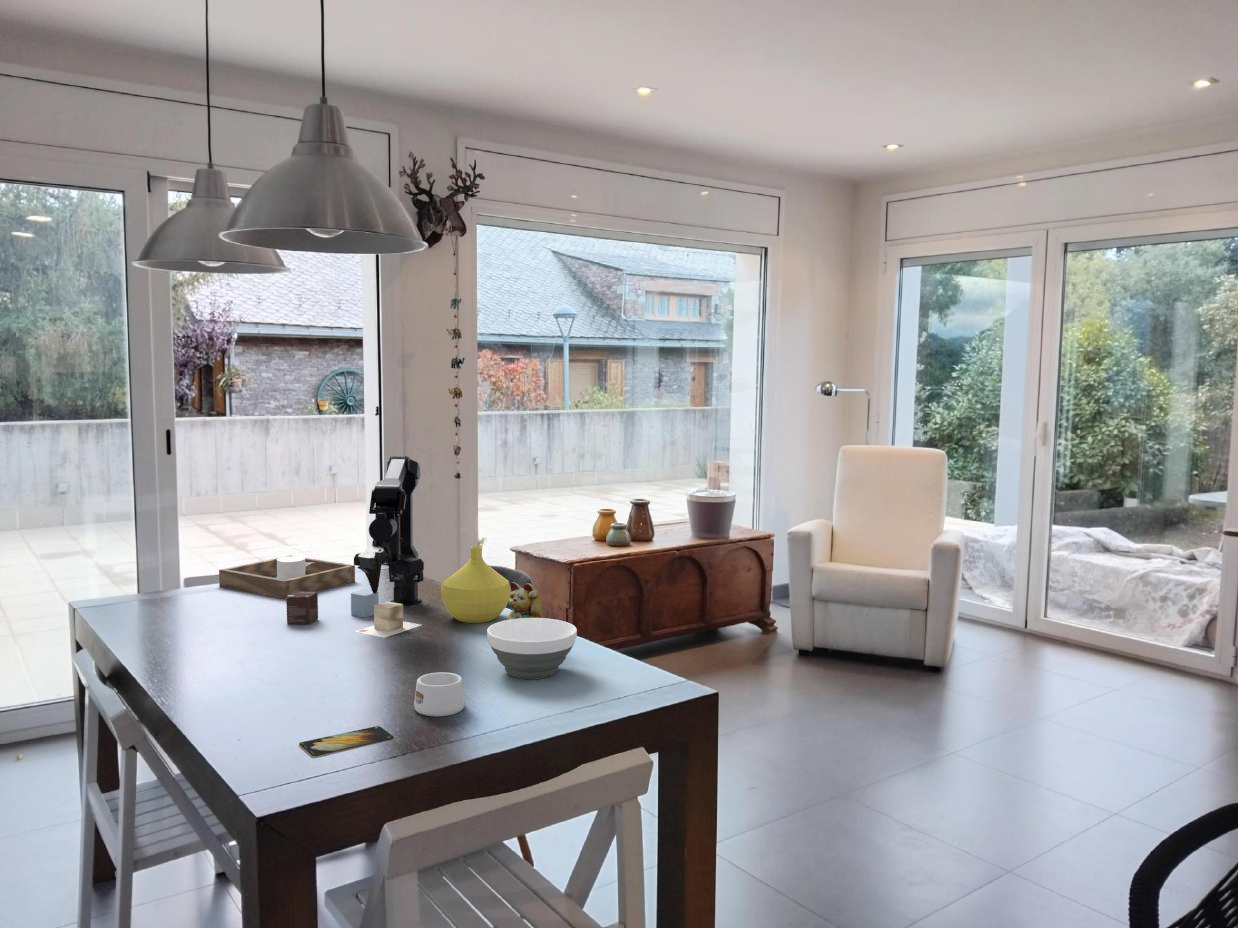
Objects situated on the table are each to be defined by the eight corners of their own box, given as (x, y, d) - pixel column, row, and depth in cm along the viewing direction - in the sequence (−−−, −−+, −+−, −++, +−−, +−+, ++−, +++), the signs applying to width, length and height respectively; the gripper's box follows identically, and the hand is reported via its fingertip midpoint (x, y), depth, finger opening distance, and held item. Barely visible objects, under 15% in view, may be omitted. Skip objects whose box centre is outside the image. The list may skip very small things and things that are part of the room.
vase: (503, 608, 264) (503, 539, 262) (517, 625, 246) (517, 552, 245) (436, 612, 258) (436, 542, 256) (446, 629, 241) (446, 555, 239)
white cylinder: (337, 585, 289) (337, 559, 288) (276, 595, 275) (276, 568, 274) (304, 575, 303) (303, 550, 302) (245, 584, 288) (244, 558, 288)
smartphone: (395, 737, 169) (312, 756, 160) (395, 741, 169) (312, 759, 160) (378, 725, 175) (297, 742, 166) (378, 728, 175) (297, 746, 166)
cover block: (388, 624, 244) (388, 601, 244) (403, 627, 242) (403, 604, 241) (374, 628, 240) (374, 605, 239) (389, 631, 237) (389, 608, 237)
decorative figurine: (500, 643, 229) (500, 582, 228) (518, 635, 237) (518, 576, 235) (535, 649, 225) (535, 586, 224) (552, 640, 233) (553, 580, 231)
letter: (393, 619, 249) (393, 619, 249) (422, 625, 244) (422, 624, 244) (353, 631, 237) (353, 631, 237) (384, 638, 232) (384, 637, 232)
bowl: (554, 691, 196) (554, 646, 195) (470, 679, 203) (470, 635, 202) (589, 664, 214) (590, 623, 213) (511, 654, 221) (512, 614, 220)
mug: (474, 711, 184) (474, 680, 183) (428, 721, 178) (428, 690, 177) (444, 694, 193) (444, 665, 193) (400, 703, 187) (400, 673, 187)
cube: (364, 611, 258) (364, 589, 257) (378, 614, 255) (378, 592, 254) (351, 615, 253) (350, 593, 253) (365, 618, 251) (364, 595, 250)
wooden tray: (291, 570, 307) (290, 555, 306) (355, 581, 293) (354, 565, 293) (219, 586, 283) (219, 569, 283) (285, 598, 270) (284, 581, 269)
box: (318, 619, 249) (318, 591, 248) (309, 625, 243) (308, 597, 242) (296, 618, 249) (296, 590, 248) (286, 624, 243) (285, 596, 242)
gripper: (337, 535, 236) (337, 597, 238) (394, 543, 227) (394, 607, 228) (369, 529, 246) (369, 588, 247) (425, 536, 237) (425, 598, 238)
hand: (388, 595), depth 240 cm, fingers open, 9 cm apart
